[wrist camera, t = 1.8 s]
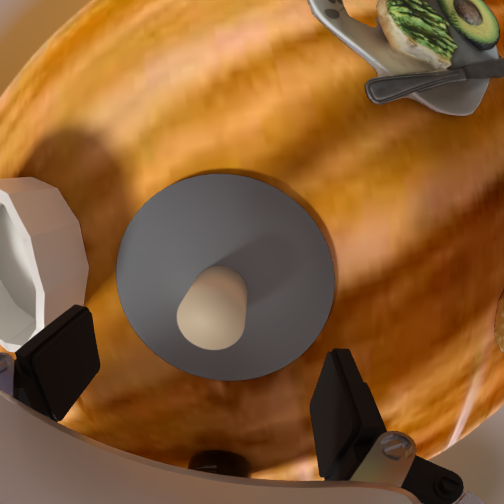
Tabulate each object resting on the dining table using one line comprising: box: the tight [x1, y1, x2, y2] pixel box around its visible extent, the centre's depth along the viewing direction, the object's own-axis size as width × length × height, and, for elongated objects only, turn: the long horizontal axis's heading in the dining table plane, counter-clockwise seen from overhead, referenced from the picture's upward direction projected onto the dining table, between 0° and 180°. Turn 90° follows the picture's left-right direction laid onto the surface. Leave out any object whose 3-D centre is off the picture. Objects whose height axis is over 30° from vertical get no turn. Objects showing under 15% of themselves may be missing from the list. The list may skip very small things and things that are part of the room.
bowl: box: [0, 177, 89, 352], centre depth 16 cm, size 13×13×6 cm
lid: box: [116, 174, 335, 381], centre depth 16 cm, size 15×15×5 cm
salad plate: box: [307, 0, 504, 116], centre depth 11 cm, size 19×18×5 cm
